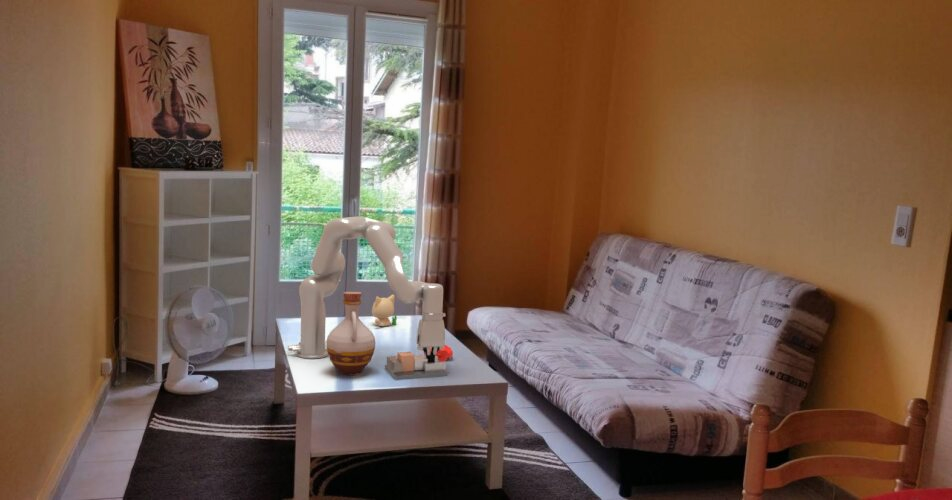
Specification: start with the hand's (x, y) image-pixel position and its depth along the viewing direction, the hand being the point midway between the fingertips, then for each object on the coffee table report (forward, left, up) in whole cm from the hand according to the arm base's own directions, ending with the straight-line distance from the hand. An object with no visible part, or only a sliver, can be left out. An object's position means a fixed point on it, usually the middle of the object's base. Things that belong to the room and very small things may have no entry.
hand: (430, 364), depth 268 cm
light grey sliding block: (-5, 0, -1) cm, 5 cm away
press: (-6, 0, -3) cm, 6 cm away
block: (-10, 0, -1) cm, 10 cm away
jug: (-29, +6, -3) cm, 30 cm away
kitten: (+4, +76, -3) cm, 76 cm away
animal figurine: (+10, +19, -3) cm, 21 cm away
